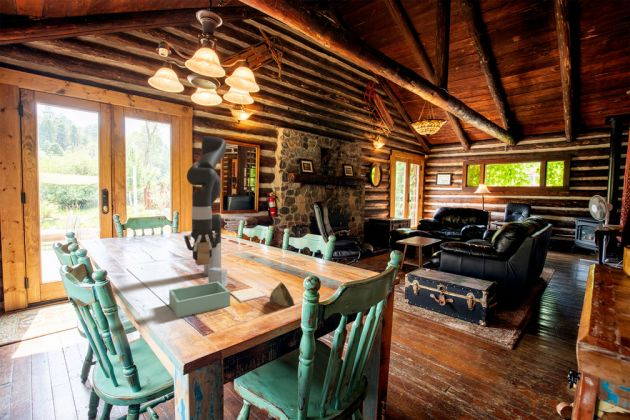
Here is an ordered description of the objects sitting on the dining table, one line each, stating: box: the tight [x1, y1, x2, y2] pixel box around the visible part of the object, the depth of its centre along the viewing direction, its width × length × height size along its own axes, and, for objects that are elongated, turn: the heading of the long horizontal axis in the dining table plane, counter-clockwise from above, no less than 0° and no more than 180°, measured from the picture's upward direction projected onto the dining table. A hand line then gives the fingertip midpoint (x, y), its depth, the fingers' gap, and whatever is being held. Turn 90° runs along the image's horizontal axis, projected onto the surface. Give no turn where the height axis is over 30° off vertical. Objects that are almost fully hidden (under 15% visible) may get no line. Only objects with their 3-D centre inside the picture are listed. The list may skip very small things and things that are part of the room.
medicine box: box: [207, 267, 228, 288], centre depth 138 cm, size 8×4×9 cm, turn 71°
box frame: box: [168, 281, 231, 319], centre depth 117 cm, size 15×20×6 cm
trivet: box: [230, 286, 267, 303], centre depth 129 cm, size 12×12×1 cm
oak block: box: [194, 242, 210, 266], centre depth 116 cm, size 4×4×9 cm
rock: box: [269, 282, 296, 307], centre depth 121 cm, size 11×9×10 cm
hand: (202, 258), depth 116 cm, fingers closed on oak block, 4 cm apart
